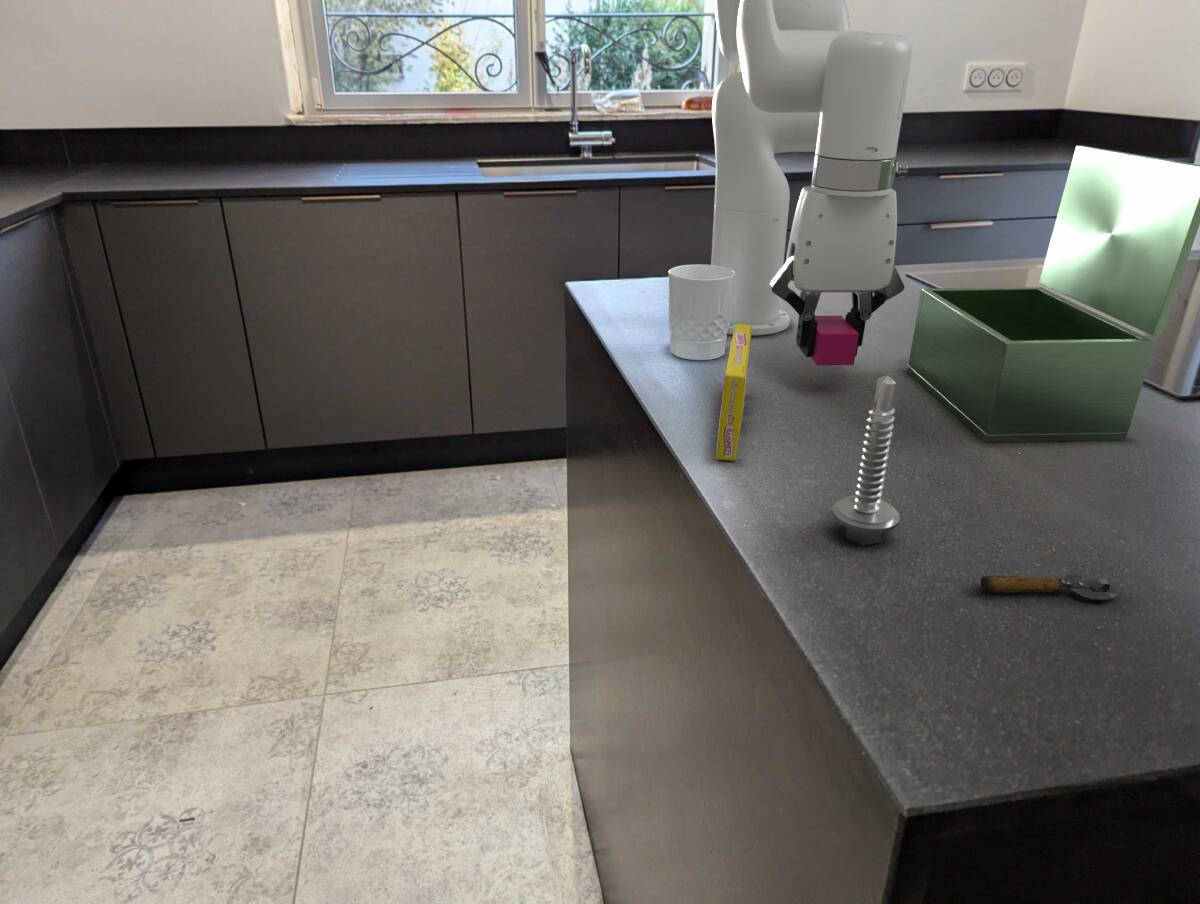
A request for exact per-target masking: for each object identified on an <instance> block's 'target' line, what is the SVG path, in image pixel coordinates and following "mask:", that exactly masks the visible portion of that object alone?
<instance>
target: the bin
mask: <svg viewBox="0 0 1200 904" xmlns="http://www.w3.org/2000/svg"><path fill="white" fill-rule="evenodd" d="M912 336H913V337H912V341H911V346H910V347H911V348H910V353H909V358H908V359H909V360H908V365H907V371H906V372H907V373H908V375H910V376H911V377H912V378H913V379H914V380H915V381H916V382H918V383H919V385H920V386H922V387H923V388H924V389H925V390H927V392H928V393H930V394H931V395H932V396H933V397H934V398H935V399H936V400H938V402H939V403H941V404H942V405H943V406H944V407H946V408H947V410H949V411H950V412H951V413H952V414H953V415H954V416H955V417H957V419H959V420H960V421H961V422H962V423H963V424H964V425H965V426H966V427H967V428H969V430H971V431H972V432H973V433H974V434H975V435H976V436H977V437H979V438H980V439H981V441H983V442H984V443H985V444H986V443H987V444H989V443H990V444H991V443H995V444H996V443H1040V442H1041V443H1042V442H1043V443H1044V442H1045V443H1046V442H1050V443H1051V442H1088V441H1089V442H1092V441H1093V442H1097V441H1099V442H1101V441H1102V442H1103V441H1126V440H1127V437H1128V433H1129V430H1130V428H1131V427H1130V426H1131V423H1132V420H1133V416H1134V414H1135V410H1136V408H1137V404H1138V400H1139V397H1140V393H1141V391H1142V387H1143V384H1144V380H1145V377H1146V373H1147V370H1148V367H1149V364H1150V360H1151V357H1152V354H1153V350H1154V347H1155V344H1156V341H1155V340H1153V339H1151V338H1149V337H1147V336H1145V335H1143V334H1141V333H1139V332H1136V331H1135V330H1132V329H1131V328H1128V327H1126V326H1124V325H1122V324H1120V323H1117V322H1116V321H1113V320H1111V319H1109V318H1107V317H1105V316H1103V315H1101V314H1100V313H1099V314H1098V313H1096V312H1094V311H1092V310H1090V309H1088V308H1086V307H1084V306H1082V305H1080V304H1078V303H1075V302H1073V301H1071V300H1069V299H1067V298H1065V297H1062V296H1060V295H1059V294H1056V293H1054V292H1052V291H1050V290H1048V289H1046V288H1045V287H1041V286H1034V287H1032V286H1031V287H1029V286H1028V287H1025V286H1024V287H1021V286H1019V287H951V288H949V287H946V288H945V287H940V288H939V287H938V288H937V287H935V288H933V287H932V288H921V289H920V294H919V300H918V307H917V312H916V317H915V324H914V330H913V335H912Z"/></svg>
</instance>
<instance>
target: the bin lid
mask: <svg viewBox="0 0 1200 904" xmlns="http://www.w3.org/2000/svg"><path fill="white" fill-rule="evenodd" d="M1199 228H1200V164H1196V163H1190V162H1184V161H1178V160H1172V159H1165V158H1161V157H1155V156H1148V155H1143V154H1142V155H1141V154H1136V153H1130V152H1123V151H1117V150H1111V149H1105V148H1099V147H1092V146H1087V145H1076V146H1075V149H1074V153H1073V156H1072V160H1071V164H1070V167H1069V170H1068V175H1067V178H1066V182H1065V186H1064V190H1063V194H1062V196H1061V200H1060V204H1059V208H1058V211H1057V215H1056V219H1055V222H1054V226H1053V229H1052V234H1051V237H1050V241H1049V245H1048V247H1047V251H1046V256H1045V260H1044V263H1043V267H1042V270H1041V274H1040V278H1039V282H1038V283H1039V284H1041V285H1042V286H1044V287H1047V288H1049V289H1051V290H1054V291H1056V292H1057V293H1060V294H1062V295H1063V296H1067V297H1068V298H1070V299H1073V300H1075V301H1077V302H1079V303H1081V304H1084V305H1085V306H1087V307H1090V308H1092V309H1095V310H1096V311H1098V312H1100V313H1103V314H1104V315H1107V316H1109V317H1112V318H1113V319H1115V320H1118V321H1119V322H1122V323H1124V324H1126V325H1128V326H1131V327H1132V328H1135V329H1137V330H1140V331H1141V332H1143V333H1146V334H1148V335H1149V336H1151V337H1161V336H1162V335H1163V332H1164V330H1165V326H1166V323H1167V321H1168V317H1169V315H1170V311H1171V309H1172V306H1173V303H1174V301H1175V297H1176V294H1177V291H1178V289H1179V286H1180V283H1181V280H1182V277H1183V273H1184V271H1185V268H1186V265H1187V263H1188V259H1189V256H1190V254H1191V251H1192V248H1193V246H1194V242H1195V240H1196V237H1197V233H1198V231H1199Z"/></svg>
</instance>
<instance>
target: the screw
mask: <svg viewBox="0 0 1200 904" xmlns="http://www.w3.org/2000/svg"><path fill="white" fill-rule="evenodd" d="M896 386H897V382H895V380H894V379H893V378H891V376H890V375H888V374H887V375H884V376H882V377H879V378H877V381H876V387H875V395H874V400H873V403H872V408H871V409H870V410H868V413H869V417H867V418H866V421H867V422H868V424H867V425H865V429H866V430H867V431H866V432H865V433H864V437H866V439H865V440H863V444H864V445H865V446H864V447H863V448H862V449H861V450H862V452H863V454H862V455H861V456H860V458H861V459H862V461H861V462H860V463H859V466H860V467H861V469H859V470H858V473H859V474H860V476H858V477H857V480H858V481H859V483H857V484H856V488H858V490H856V491H855V494H856V495H850V496H849V495H848V496H845V497H843V498H841V499H839V500H837V501H836V502H835V503H833V506H832V509H831V515H832V517H833V519H834V520H835V521H836V522H837V523H839V524H840V525H842V526H844V532H845V533H844V534H845V537H846V540H847V541H850V542H853V543H855V544H857V545H861V546H863V547H864V546H869V545H874V544H878V543H881V540H882V533H887V532H891V531H893V530H894V529H896V528H897V527H898V526H899V525H900V522H901V521H900V520H901V515H900V513H899V512H898V510H897V509H896V508H894V506H893V505H892V504H891V503H889V502H887V501H885V500H883V499H882V497H881V496H882V495H883V490H882V489H884V486H885V484H884V481H885V480H886V477H885V474H887V469H886V467H888V461H887V460H888V459H889V457H890V456H889V455H890V454H888V453H889V452H890V450H891V448H890V446H889V445H891V443H892V440H891V437H892V436H893V432H892V430H894V427H895V426H894V424H893V422H894V421H895V419H896V418H895V416H894V415H893V414H895V412H896V409H895V408H894V406H893V405H894V404H893V403H894V397H895V392H896Z"/></svg>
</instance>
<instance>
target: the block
mask: <svg viewBox="0 0 1200 904" xmlns="http://www.w3.org/2000/svg"><path fill="white" fill-rule="evenodd" d="M814 319H815V320H816V321H817V323H818V325H817V329H816V336H815V344H814V352H813V356H812V357H809V358H810V359H811V361H812V362H813V363H814V364H815V366H817V367H818V366H820V367H821V366H823V367H824V366H825V367H826V366H854V365H855V361H856V360H855V359H856V357H855V354H856V348H857V342H858V335H859V333H858V332H857V331H856V330H855V329H854V328H853V327H852V326H851V325H850V324H849V323H848V322H847V321H846V320H845V318H844V317H843V316H842V315H815V318H814Z"/></svg>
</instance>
